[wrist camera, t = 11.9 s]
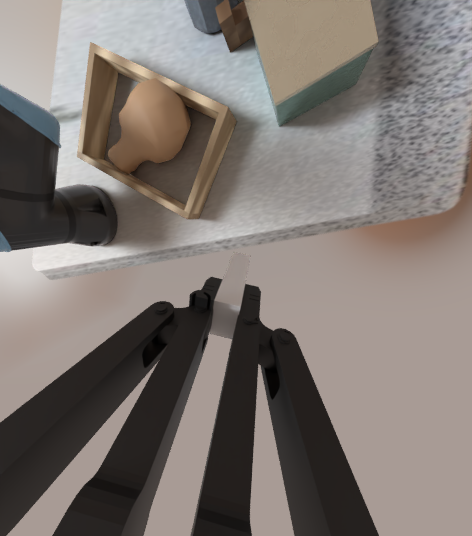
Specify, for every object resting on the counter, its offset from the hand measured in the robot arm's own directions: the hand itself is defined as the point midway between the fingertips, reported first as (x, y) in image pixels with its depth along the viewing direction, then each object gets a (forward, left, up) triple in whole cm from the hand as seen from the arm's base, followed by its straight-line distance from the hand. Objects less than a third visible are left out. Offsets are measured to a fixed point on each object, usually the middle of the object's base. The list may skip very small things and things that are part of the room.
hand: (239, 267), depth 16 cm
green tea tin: (-8, +26, -24) cm, 36 cm away
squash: (-30, +6, -24) cm, 39 cm away
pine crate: (-30, +6, -24) cm, 39 cm away
